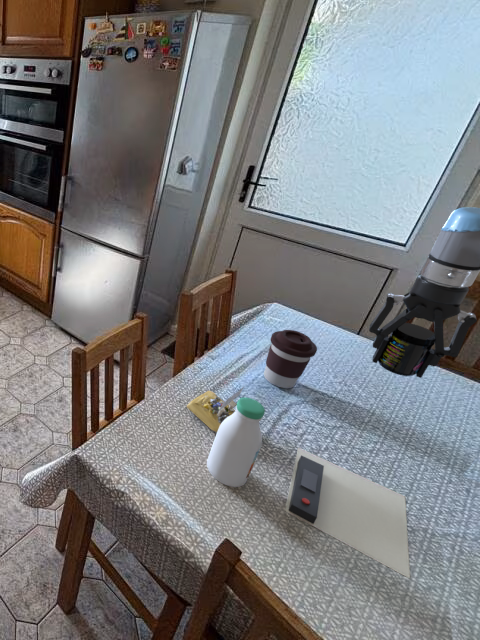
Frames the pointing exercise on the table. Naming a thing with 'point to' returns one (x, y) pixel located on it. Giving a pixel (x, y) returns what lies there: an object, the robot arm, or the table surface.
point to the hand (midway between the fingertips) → (396, 366)
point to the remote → (306, 489)
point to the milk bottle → (237, 444)
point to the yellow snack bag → (213, 408)
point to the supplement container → (407, 349)
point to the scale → (360, 514)
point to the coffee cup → (288, 357)
